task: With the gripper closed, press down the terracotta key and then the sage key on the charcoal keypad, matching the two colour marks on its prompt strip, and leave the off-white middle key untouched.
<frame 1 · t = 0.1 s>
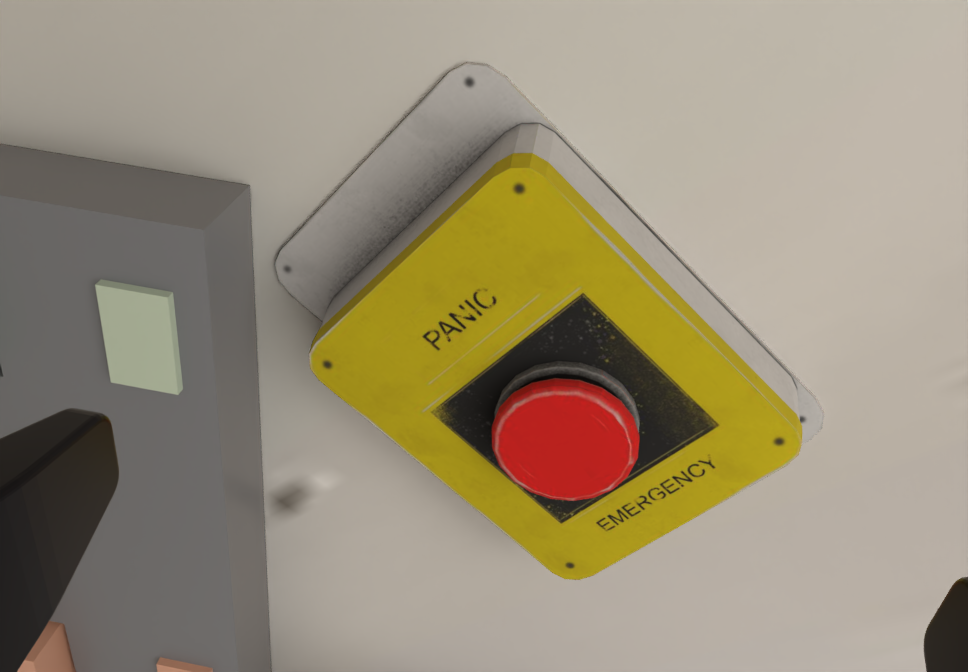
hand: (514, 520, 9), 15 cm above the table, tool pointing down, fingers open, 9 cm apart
terracotta key: (6, 663, 32), point 4 cm above the table, slide at 0.0 cm
keypad: (23, 443, 31), on the table
emergency button: (551, 331, 26), on the table
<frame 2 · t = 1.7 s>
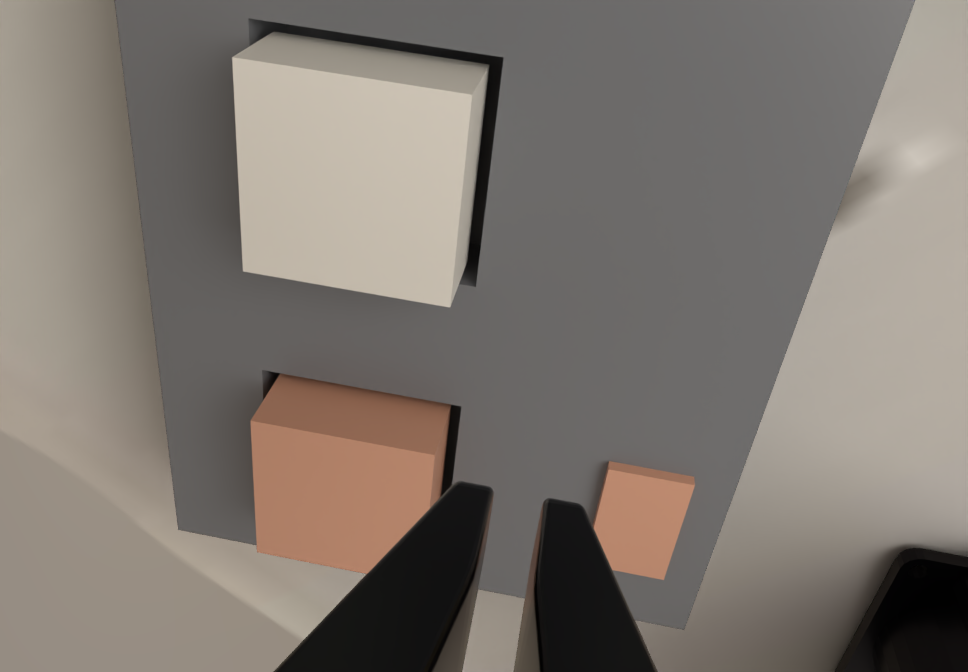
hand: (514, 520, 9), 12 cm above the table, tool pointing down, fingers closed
terracotta key: (352, 478, 21), point 3 cm above the table, slide at 0.0 cm
offwhite key: (362, 170, 16), point 3 cm above the table, slide at 0.0 cm
keypad: (404, 115, 19), on the table
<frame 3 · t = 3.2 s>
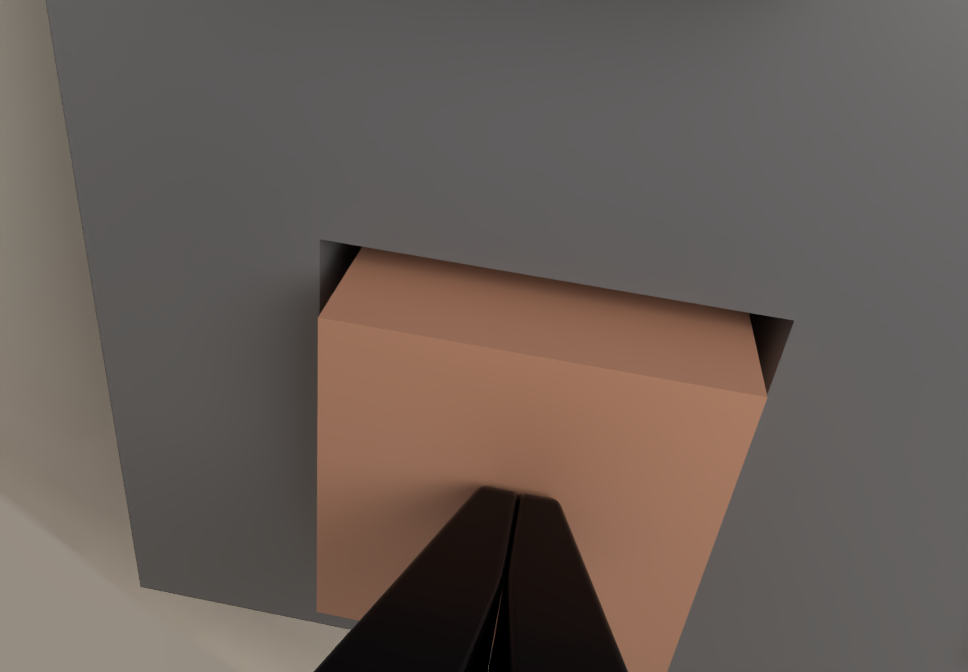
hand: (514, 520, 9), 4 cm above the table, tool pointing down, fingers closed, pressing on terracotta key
terracotta key: (520, 459, 10), point 3 cm above the table, slide at 0.5 cm, touching gripper
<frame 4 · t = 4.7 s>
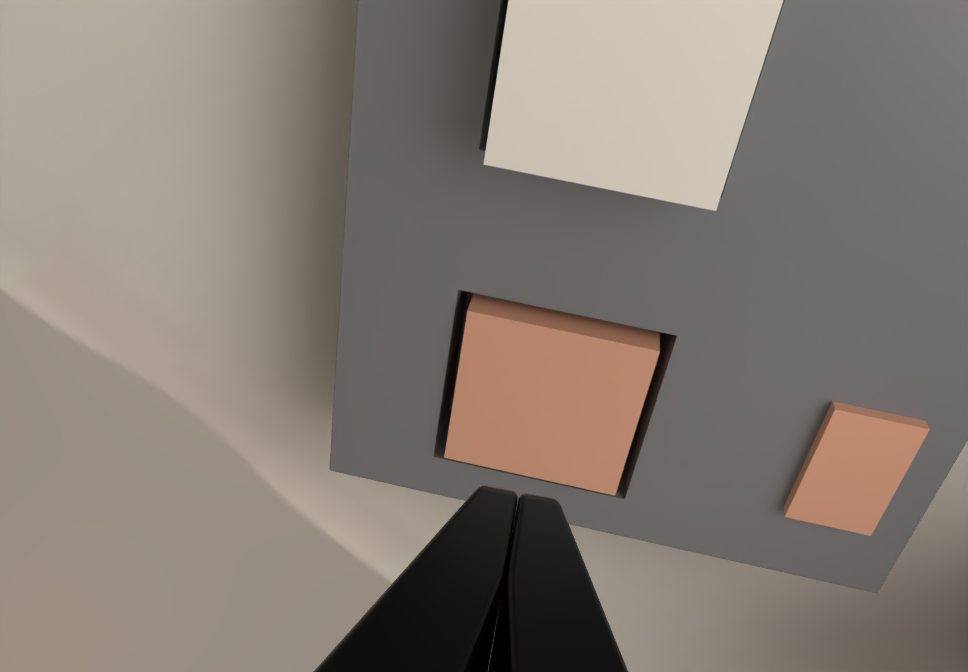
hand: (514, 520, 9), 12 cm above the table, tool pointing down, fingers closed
terracotta key: (549, 383, 20), point 2 cm above the table, slide at 1.2 cm
offwhite key: (627, 55, 15), point 3 cm above the table, slide at 0.0 cm
keypad: (630, 15, 18), on the table
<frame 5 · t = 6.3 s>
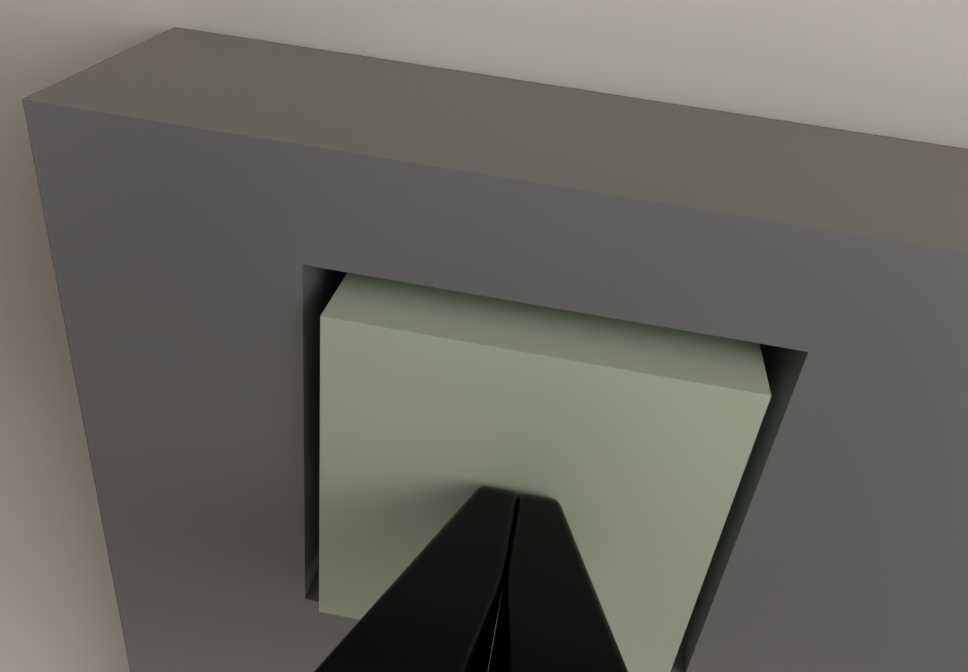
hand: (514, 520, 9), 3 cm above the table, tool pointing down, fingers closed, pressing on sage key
sage key: (523, 458, 10), point 2 cm above the table, slide at 1.1 cm, touching gripper
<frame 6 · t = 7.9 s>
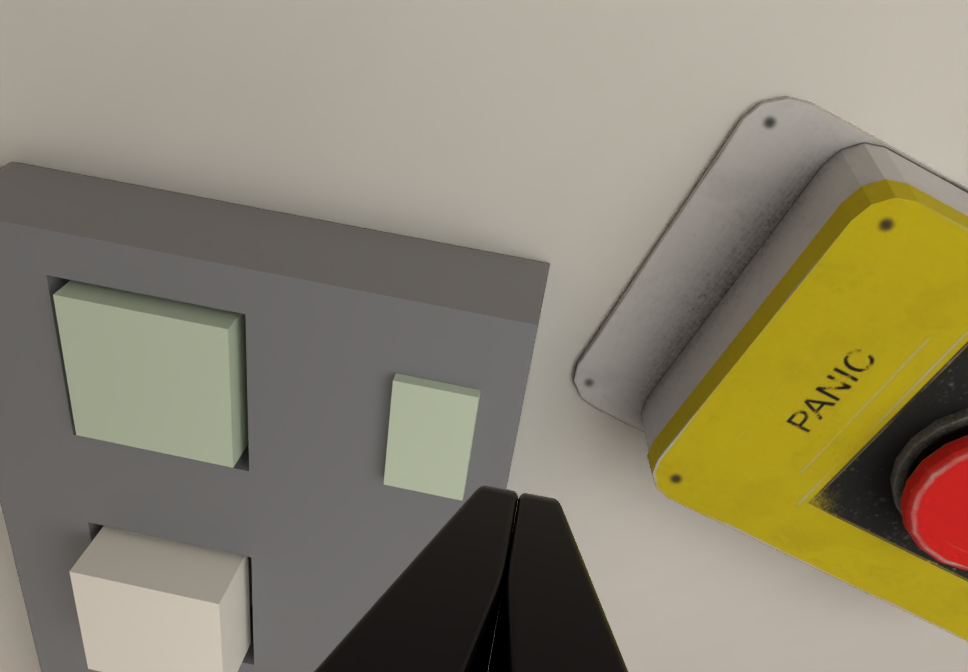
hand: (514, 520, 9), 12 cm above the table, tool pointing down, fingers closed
sage key: (166, 363, 21), point 2 cm above the table, slide at 1.2 cm
offwhite key: (166, 610, 25), point 3 cm above the table, slide at 0.0 cm
keypad: (217, 525, 28), on the table
emergency button: (905, 370, 22), on the table
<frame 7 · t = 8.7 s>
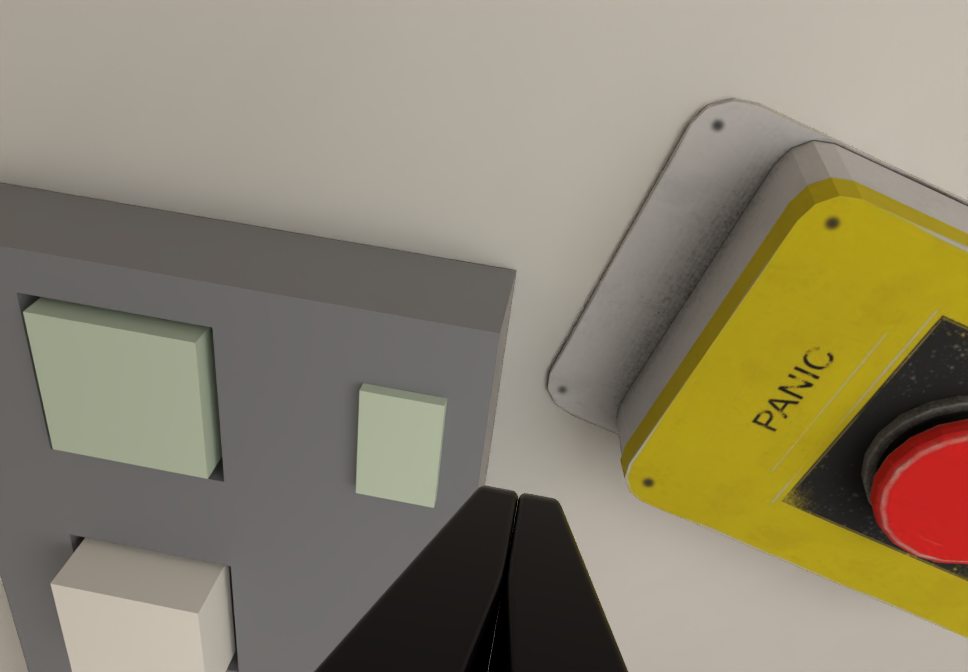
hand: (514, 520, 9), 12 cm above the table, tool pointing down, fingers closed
sage key: (139, 376, 22), point 2 cm above the table, slide at 1.2 cm
offwhite key: (149, 619, 25), point 3 cm above the table, slide at 0.0 cm
keypad: (201, 534, 28), on the table
emergency button: (878, 363, 22), on the table
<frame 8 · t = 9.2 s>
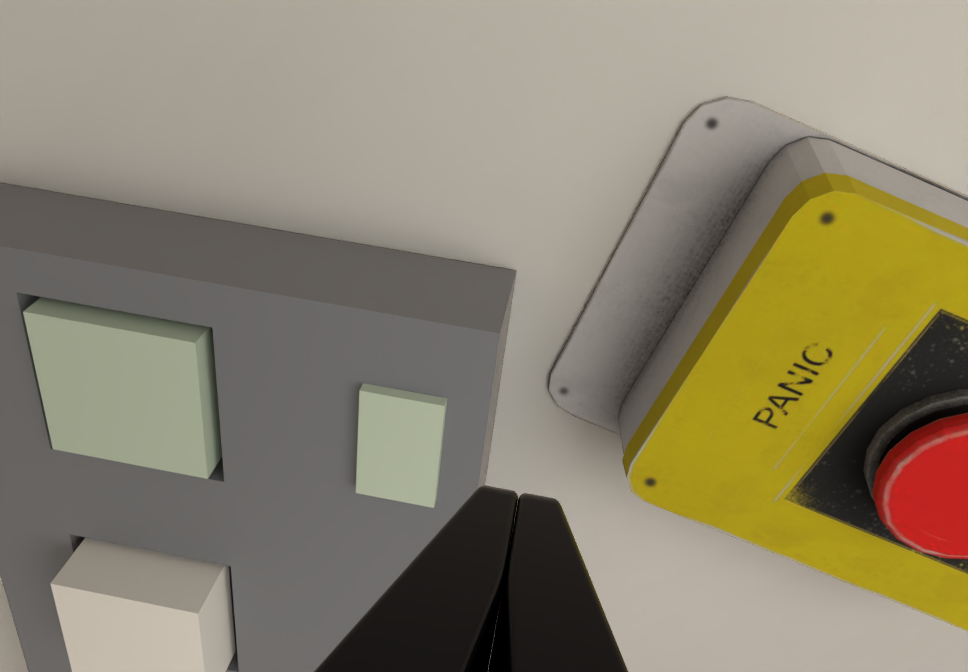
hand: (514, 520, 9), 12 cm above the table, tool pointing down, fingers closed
sage key: (139, 376, 22), point 2 cm above the table, slide at 1.2 cm
offwhite key: (149, 619, 25), point 3 cm above the table, slide at 0.0 cm
keypad: (201, 534, 28), on the table
emergency button: (880, 359, 22), on the table
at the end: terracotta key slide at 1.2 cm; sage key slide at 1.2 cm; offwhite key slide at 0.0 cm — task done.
